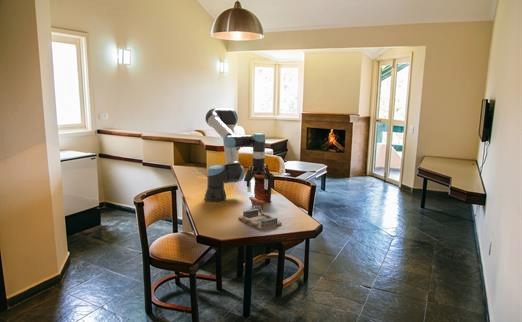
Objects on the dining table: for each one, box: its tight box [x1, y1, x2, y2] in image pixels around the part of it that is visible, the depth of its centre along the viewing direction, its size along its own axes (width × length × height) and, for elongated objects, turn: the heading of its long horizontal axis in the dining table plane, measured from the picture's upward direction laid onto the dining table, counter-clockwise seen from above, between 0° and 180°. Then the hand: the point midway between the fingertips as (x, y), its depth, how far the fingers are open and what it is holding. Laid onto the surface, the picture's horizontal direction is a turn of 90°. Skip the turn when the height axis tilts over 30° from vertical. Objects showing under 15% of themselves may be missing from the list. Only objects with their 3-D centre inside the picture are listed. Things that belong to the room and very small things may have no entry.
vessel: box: [253, 171, 275, 205], centre depth 252 cm, size 14×14×20 cm
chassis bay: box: [237, 208, 283, 231], centre depth 212 cm, size 21×16×4 cm
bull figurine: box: [248, 195, 267, 213], centre depth 234 cm, size 4×13×8 cm, turn 51°
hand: (257, 190), depth 232 cm, fingers open, 13 cm apart
